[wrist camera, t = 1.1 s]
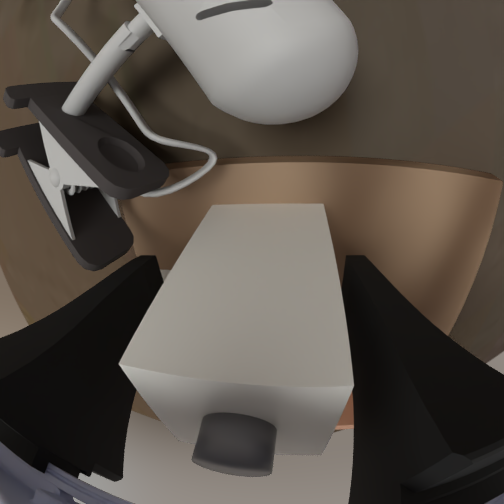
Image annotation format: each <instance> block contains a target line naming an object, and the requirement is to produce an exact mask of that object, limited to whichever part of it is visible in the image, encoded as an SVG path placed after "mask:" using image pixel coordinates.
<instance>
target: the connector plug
mask: <svg viewBox="0 0 504 504" xmlns="http://www.w3.org/2000/svg"><path fill="white" fill-rule="evenodd" d="M119 365H120V367H121V368H122V370H123V371H124V372H125V374H126V375H127V377H128V378H129V380H130V381H131V382H132V384H133V385H134V387H135V388H136V389H137V391H138V392H139V393H140V395H141V396H142V397H143V399H144V400H145V401H146V403H147V404H148V405H149V406H150V408H151V409H152V410H153V411H154V413H155V414H156V415H157V416H158V418H159V419H160V420H161V421H162V422H163V424H164V425H165V426H166V427H167V428H168V429H169V430H170V432H171V433H172V434H173V435H174V436H175V437H176V439H178V441H182V442H186V443H191V444H196V445H195V449H194V453H193V456H192V461H193V462H194V463H196V464H197V465H199V466H201V467H204V468H207V469H209V470H213V471H216V472H220V473H225V474H230V475H236V476H247V477H261V476H267V475H270V474H271V473H272V468H273V460H274V454H277V455H322V453H323V451H324V450H325V448H326V445H327V444H328V442H329V440H330V438H331V436H332V434H333V432H334V430H335V428H336V426H337V423H338V421H339V419H340V417H341V415H342V413H343V410H344V408H345V406H346V404H347V401H348V399H349V397H350V394H351V392H352V390H353V387H354V381H353V371H352V362H351V353H350V345H349V337H348V330H347V323H346V316H345V310H344V304H343V298H342V292H341V286H340V280H339V275H338V269H337V264H336V259H335V254H334V249H333V244H332V239H331V235H330V230H329V226H328V221H327V217H326V212H325V208H324V204H228V205H212V206H211V208H210V209H209V211H208V212H207V214H206V215H205V217H204V218H203V220H202V222H201V223H200V225H199V226H198V228H197V229H196V231H195V232H194V234H193V236H192V237H191V239H190V240H189V242H188V244H187V245H186V247H185V248H184V250H183V252H182V253H181V255H180V256H179V258H178V260H177V261H176V263H175V265H174V266H173V268H172V270H171V271H170V273H169V274H168V276H167V278H166V280H165V281H164V283H163V285H162V286H161V288H160V290H159V291H158V293H157V295H156V297H155V298H154V300H153V302H152V303H151V305H150V307H149V309H148V310H147V312H146V314H145V316H144V318H143V319H142V321H141V323H140V325H139V327H138V328H137V330H136V332H135V334H134V336H133V337H132V339H131V341H130V343H129V345H128V347H127V349H126V351H125V352H124V354H123V356H122V358H121V360H120V362H119Z"/></svg>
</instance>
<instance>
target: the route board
mask: <svg viewBox="0 0 504 504" xmlns="http://www.w3.org/2000/svg"><path fill="white" fill-rule="evenodd" d="M207 162H208V160H197V161H187V162H177V163H169V164H165V165H166V166H167V167H168V169H169V176H168V178H167V180H166V181H165V183H164V185H162V186H161V187H160V188H162V187H166V186H170V185H172V184H175V183H177V182H179V181H182V180H184V179H185V178H187V177H189V176H190V175H192V174H194V173H195V172H197V171H198V170H199V169H201V168H202V167H203V166H204V165H205V164H206V163H207ZM502 185H503V181H502V180H500V179H499V178H497V177H496V176H494V175H492V174H491V173H486V172H480V171H475V170H469V169H463V168H457V167H451V166H444V165H437V164H429V163H421V162H412V161H402V160H391V159H378V158H362V157H340V156H261V157H239V158H222V159H217V161H216V164H215V165H214V166H213V167H212V169H211V170H210V171H209V172H207V173H206V174H205V175H203V176H202V177H201V178H200V179H198V180H196V181H195V182H193V183H191V184H190V185H188V186H186V187H184V188H182V189H180V190H178V191H176V192H173V193H171V194H167V195H163V196H160V197H143V196H138V197H135V198H133V199H126V200H120V201H121V205H122V209H123V213H124V216H125V220H126V223H127V226H128V227H129V228H130V230H131V232H132V234H133V236H134V243H133V247H134V250H135V253H136V256H137V257H138V256H140V255H156V257H157V261H158V264H159V268H160V270H172V268H173V266H174V265H175V263H176V261H177V260H178V258H179V256H180V255H181V253H182V252H183V250H184V248H185V247H186V245H187V244H188V242H189V240H190V239H191V237H192V236H193V234H194V232H195V231H196V229H197V228H198V226H199V225H200V223H201V222H202V220H203V218H204V217H205V215H206V214H207V212H208V211H209V209H210V208H211V206H212V205H228V204H324V208H325V212H326V217H327V221H328V226H329V230H330V235H331V239H332V244H333V249H334V254H335V259H336V264H337V269H338V275H339V280H340V286H341V287H342V281H343V274H344V266H345V259H346V255H365V256H366V257H367V258H368V259H369V260H370V261H371V262H372V263H373V264H374V265H375V267H376V268H377V269H378V270H379V271H380V272H381V273H382V274H383V275H384V276H385V277H386V278H387V279H388V280H389V281H390V282H391V283H392V285H393V286H394V287H395V288H396V289H397V290H398V291H399V292H400V293H401V294H402V295H403V296H404V297H405V298H406V299H407V300H408V301H409V302H410V303H411V304H412V305H413V306H414V307H415V308H417V309H418V310H419V311H420V312H421V313H422V314H423V315H424V316H425V317H426V318H427V319H428V320H429V321H431V322H432V323H433V324H434V325H435V326H436V327H438V328H439V329H440V330H441V331H442V332H444V333H445V334H446V335H447V336H448V335H449V333H450V331H451V329H452V328H453V326H454V324H455V322H456V320H457V318H458V316H459V314H460V311H461V309H462V307H463V305H464V303H465V301H466V298H467V296H468V294H469V292H470V289H471V287H472V284H473V282H474V279H475V277H476V274H477V272H478V269H479V267H480V264H481V261H482V258H483V255H484V252H485V249H486V246H487V243H488V240H489V237H490V234H491V230H492V227H493V223H494V219H495V216H496V212H497V208H498V203H499V199H500V194H501V190H502Z"/></svg>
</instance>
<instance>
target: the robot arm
mask: <svg viewBox="0 0 504 504" xmlns="http://www.w3.org/2000/svg"><path fill="white" fill-rule="evenodd" d="M163 283H164V281H163V277H162V274H161V271H160V268H159V264H158V261H157V257H156V255H140V256H138V257H136V258H135V259H133V260H131V261H130V262H128V263H127V264H125V265H124V266H122V267H121V268H119V269H118V270H116V271H115V272H113V273H112V274H110V275H109V276H108V277H106V278H105V279H103V280H102V281H101V282H99V283H98V284H96V285H95V286H94V287H92V288H91V289H89V290H88V291H86V292H85V293H83V294H82V295H80V296H79V297H77V298H76V299H74V300H73V301H72V302H70V303H68V304H67V305H65V306H64V307H62V308H60V309H59V310H57V311H55V312H54V313H52V314H50V315H48V316H47V317H45V318H43V319H41V320H39V321H37V322H35V323H33V324H31V325H29V326H27V327H25V328H23V329H21V330H19V331H17V332H14V333H12V334H10V335H7V336H5V337H2V338H0V504H79V503H77V502H75V501H74V500H73V497H75V498H76V499H78V500H80V501H82V502H84V503H86V504H134V503H131V502H129V501H126V500H124V499H121V498H119V497H116V496H113V495H111V494H109V493H107V492H105V491H102V490H100V489H98V488H96V487H94V486H92V485H90V484H88V483H86V482H84V481H81V480H80V479H78V476H79V473H82V474H85V475H86V476H88V477H89V476H90V475H91V473H92V472H93V473H96V474H98V475H100V476H103V477H105V478H107V479H110V480H112V481H114V482H115V481H119V480H121V479H122V478H123V462H124V449H125V442H126V434H127V428H128V423H129V418H130V413H131V409H132V404H133V400H134V397H135V393H136V388H135V387H134V385H133V384H132V382H131V381H130V380H129V378H128V377H127V375H126V374H125V372H124V371H123V370H122V368H121V367H120V365H119V362H120V360H121V358H122V356H123V354H124V352H125V351H126V349H127V347H128V345H129V343H130V341H131V339H132V337H133V336H134V334H135V332H136V330H137V328H138V327H139V325H140V323H141V321H142V319H143V318H144V316H145V314H146V312H147V310H148V309H149V307H150V305H151V303H152V302H153V300H154V298H155V297H156V295H157V293H158V291H159V290H160V288H161V286H162V285H163ZM341 292H342V298H343V304H344V310H345V316H346V323H347V330H348V337H349V345H350V353H351V362H352V371H353V381H354V387H353V390H352V395H353V412H354V450H353V468H352V480H351V489H350V497H349V503H348V504H504V375H503V374H502V373H500V372H498V371H497V370H495V369H493V368H492V367H490V366H488V365H487V364H486V363H484V362H482V361H481V360H479V359H478V358H476V357H475V356H474V355H472V354H471V353H470V352H468V351H467V350H465V349H464V348H463V347H461V346H460V345H459V344H457V343H456V342H455V341H453V340H452V339H451V338H450V337H448V336H447V335H446V334H445V333H444V332H442V331H441V330H440V329H439V328H438V327H436V326H435V325H434V324H433V323H432V322H431V321H429V320H428V319H427V318H426V317H425V316H424V315H423V314H422V313H421V312H420V311H419V310H418V309H417V308H415V307H414V306H413V305H412V304H411V303H410V302H409V301H408V300H407V299H406V298H405V297H404V296H403V295H402V294H401V293H400V292H399V291H398V290H397V289H396V288H395V287H394V286H393V285H392V283H391V282H390V281H389V280H388V279H387V278H386V277H385V276H384V275H383V274H382V273H381V272H380V271H379V270H378V269H377V268H376V267H375V265H374V264H373V263H372V262H371V261H370V260H369V259H368V258H367V257H366V256H365V255H346V259H345V266H344V274H343V281H342V287H341Z"/></svg>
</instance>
